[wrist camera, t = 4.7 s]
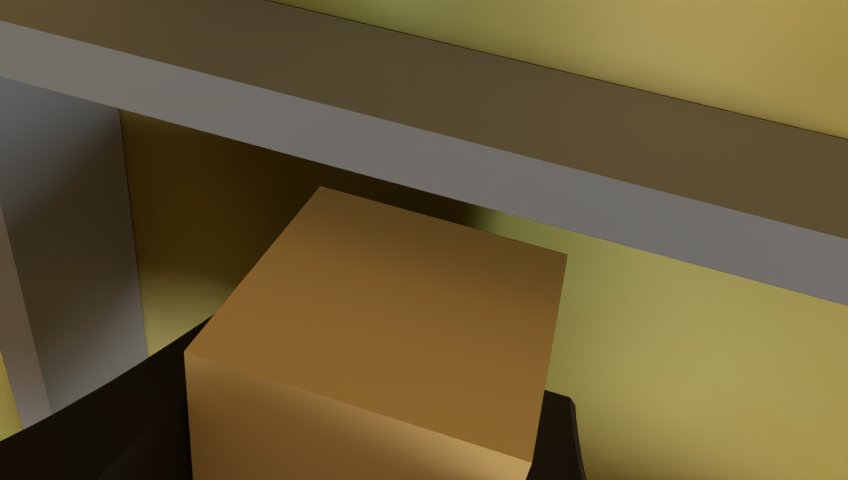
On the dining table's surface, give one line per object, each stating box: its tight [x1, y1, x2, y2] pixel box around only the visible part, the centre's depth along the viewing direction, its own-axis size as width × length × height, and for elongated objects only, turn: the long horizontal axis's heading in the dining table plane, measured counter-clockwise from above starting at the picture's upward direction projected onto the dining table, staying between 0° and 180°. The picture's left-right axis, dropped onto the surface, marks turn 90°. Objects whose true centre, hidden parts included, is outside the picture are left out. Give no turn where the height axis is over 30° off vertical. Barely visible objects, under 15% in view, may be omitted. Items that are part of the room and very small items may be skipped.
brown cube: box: [184, 186, 568, 480], centre depth 10 cm, size 4×4×4 cm
